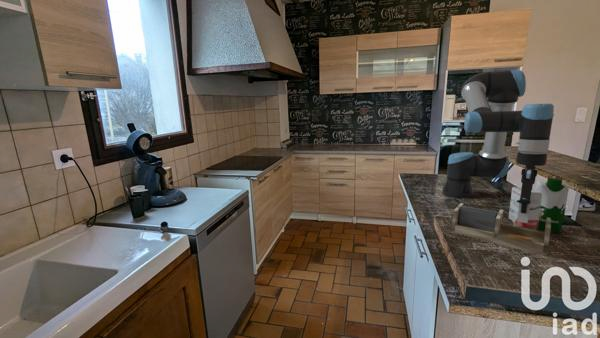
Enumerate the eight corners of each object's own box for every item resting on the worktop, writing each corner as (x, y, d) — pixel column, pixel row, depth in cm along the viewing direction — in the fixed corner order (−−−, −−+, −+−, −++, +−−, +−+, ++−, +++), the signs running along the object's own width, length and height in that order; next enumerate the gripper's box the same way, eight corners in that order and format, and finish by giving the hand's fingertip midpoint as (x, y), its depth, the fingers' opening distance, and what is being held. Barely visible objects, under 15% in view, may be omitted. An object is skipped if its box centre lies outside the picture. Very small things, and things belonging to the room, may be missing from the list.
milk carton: (533, 230, 104) (540, 179, 100) (528, 222, 112) (535, 174, 108) (564, 234, 100) (573, 181, 96) (557, 226, 107) (565, 176, 103)
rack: (459, 223, 112) (460, 202, 110) (546, 242, 94) (550, 217, 93) (451, 233, 103) (453, 210, 102) (546, 256, 86) (550, 229, 84)
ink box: (538, 228, 89) (543, 193, 86) (521, 227, 90) (526, 193, 87) (523, 218, 97) (527, 186, 95) (507, 218, 98) (511, 186, 96)
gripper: (520, 148, 99) (512, 206, 103) (514, 155, 83) (505, 224, 87) (547, 149, 94) (538, 211, 98) (547, 157, 78) (536, 230, 82)
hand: (523, 217), depth 93 cm, fingers closed on ink box, 9 cm apart
